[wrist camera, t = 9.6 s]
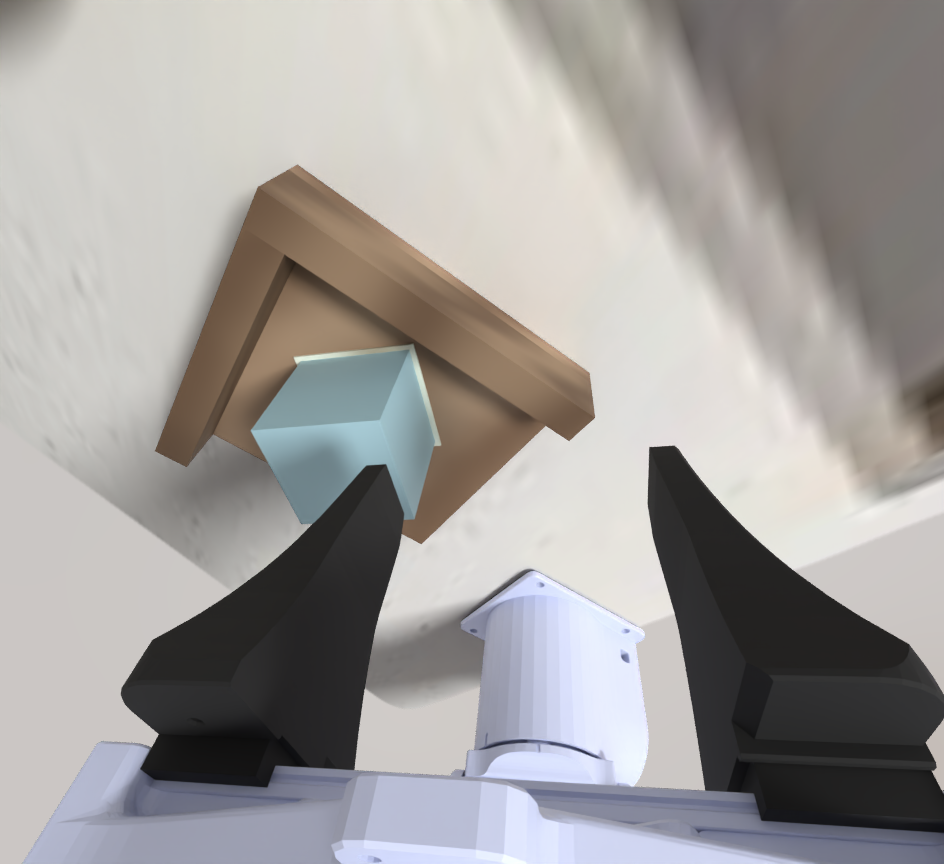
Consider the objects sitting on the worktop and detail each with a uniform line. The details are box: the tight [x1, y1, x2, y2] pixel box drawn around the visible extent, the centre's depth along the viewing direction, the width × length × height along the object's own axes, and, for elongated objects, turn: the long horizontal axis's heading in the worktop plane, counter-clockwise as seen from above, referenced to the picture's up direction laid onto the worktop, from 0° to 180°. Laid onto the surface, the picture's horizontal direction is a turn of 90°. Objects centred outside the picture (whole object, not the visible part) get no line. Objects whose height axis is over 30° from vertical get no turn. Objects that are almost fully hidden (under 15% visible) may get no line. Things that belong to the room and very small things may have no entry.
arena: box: [155, 165, 595, 544], centre depth 23 cm, size 14×14×3 cm
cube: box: [251, 350, 435, 524], centre depth 22 cm, size 5×5×5 cm
